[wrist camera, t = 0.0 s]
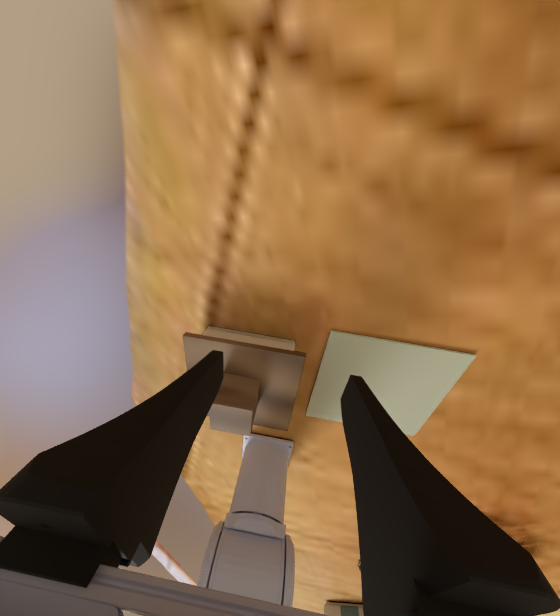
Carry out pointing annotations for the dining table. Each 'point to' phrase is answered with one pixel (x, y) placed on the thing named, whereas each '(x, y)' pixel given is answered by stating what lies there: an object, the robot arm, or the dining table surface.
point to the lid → (249, 383)
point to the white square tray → (250, 338)
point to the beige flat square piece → (386, 377)
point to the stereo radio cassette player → (343, 609)
